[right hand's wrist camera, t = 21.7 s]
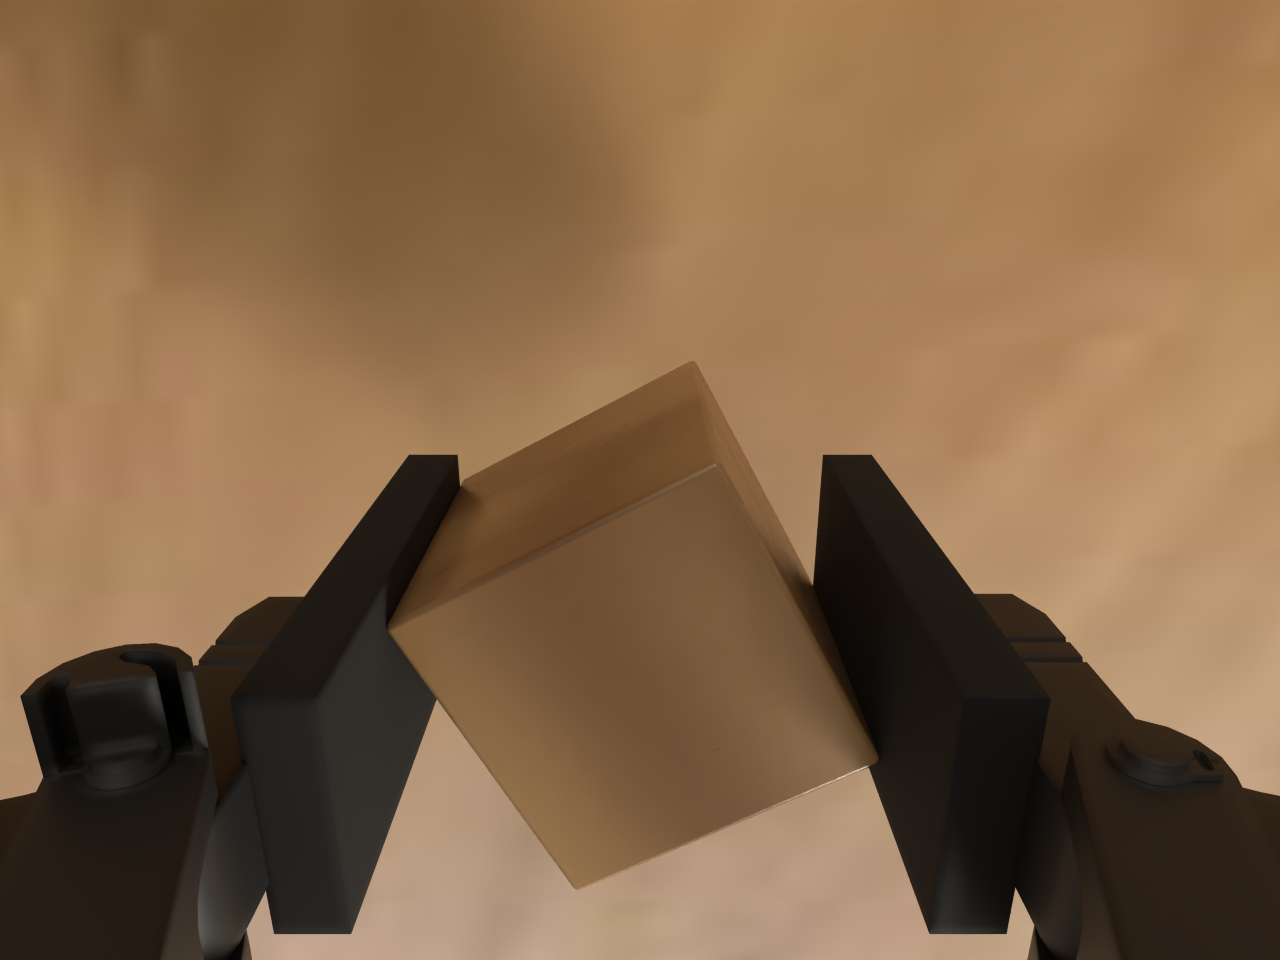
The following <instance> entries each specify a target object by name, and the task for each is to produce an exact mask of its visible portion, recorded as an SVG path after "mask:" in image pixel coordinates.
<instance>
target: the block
mask: <svg viewBox="0 0 1280 960" xmlns="http://www.w3.org/2000/svg"><path fill="white" fill-rule="evenodd" d="M387 629H388V632H389V634H390V635H391V637H392V638H393V639H394V641H395V642H396V643H397V645H398V646H399V648H400V649H401V650H402V652H403V653H404V654H405V656H406V657H407V659H408V660H409V661H410V663H411V664H412V666H413V667H414V668H415V670H416V671H417V672H418V674H419V675H420V677H421V678H422V679H423V681H424V682H425V683H426V685H427V686H428V688H429V689H430V690H431V692H432V693H433V694H434V696H435V697H436V699H437V700H438V701H439V703H440V704H441V706H442V707H443V708H444V710H445V711H446V712H447V714H448V715H449V717H450V718H451V719H452V721H453V722H454V723H455V725H456V726H457V728H458V729H459V730H460V732H461V733H462V734H463V736H464V737H465V739H466V740H467V741H468V743H469V744H470V745H471V747H472V748H473V750H474V751H475V752H476V754H477V755H478V757H479V758H480V759H481V761H482V762H483V763H484V765H485V766H486V768H487V769H488V770H489V772H490V773H491V774H492V776H493V777H494V779H495V780H496V781H497V783H498V784H499V785H500V787H501V788H502V790H503V791H504V792H505V794H506V795H507V797H508V798H509V799H510V801H511V802H512V803H513V805H514V806H515V808H516V809H517V810H518V812H519V813H520V814H521V816H522V817H523V819H524V820H525V821H526V823H527V824H528V825H529V827H530V828H531V830H532V831H533V832H534V834H535V835H536V836H537V838H538V839H539V841H540V842H541V843H542V845H543V846H544V848H545V849H546V850H547V852H548V853H549V854H550V856H551V857H552V859H553V860H554V861H555V863H556V864H557V865H558V867H559V868H560V870H561V871H562V872H563V874H564V875H565V876H566V878H567V879H568V881H569V882H570V883H571V885H572V886H573V888H575V889H576V890H581V889H583V888H585V887H588V886H590V885H592V884H595V883H597V882H599V881H602V880H604V879H607V878H609V877H611V876H614V875H616V874H618V873H621V872H623V871H625V870H628V869H630V868H632V867H635V866H637V865H640V864H642V863H644V862H647V861H649V860H651V859H654V858H656V857H658V856H661V855H663V854H665V853H668V852H670V851H673V850H675V849H677V848H680V847H682V846H684V845H687V844H689V843H691V842H694V841H696V840H698V839H701V838H703V837H706V836H708V835H710V834H713V833H715V832H717V831H720V830H722V829H724V828H727V827H729V826H731V825H734V824H736V823H739V822H741V821H743V820H746V819H748V818H750V817H753V816H755V815H757V814H760V813H762V812H764V811H767V810H769V809H772V808H774V807H776V806H779V805H781V804H783V803H786V802H788V801H790V800H793V799H795V798H797V797H800V796H802V795H805V794H807V793H809V792H812V791H814V790H816V789H819V788H821V787H823V786H826V785H828V784H830V783H833V782H835V781H838V780H840V779H842V778H845V777H847V776H849V775H852V774H854V773H856V772H859V771H861V770H863V769H866V768H868V767H871V766H873V765H875V764H877V763H878V762H879V754H878V751H877V749H876V746H875V744H874V741H873V739H872V736H871V734H870V731H869V728H868V726H867V723H866V721H865V718H864V716H863V713H862V710H861V708H860V705H859V703H858V700H857V698H856V695H855V693H854V690H853V687H852V685H851V682H850V680H849V677H848V675H847V672H846V670H845V667H844V664H843V662H842V659H841V657H840V654H839V652H838V649H837V646H836V644H835V641H834V639H833V636H832V634H831V631H830V629H829V626H828V623H827V621H826V618H825V616H824V613H823V611H822V608H821V605H820V603H819V600H818V598H817V595H816V593H815V590H814V588H813V585H812V582H811V580H810V578H809V576H808V574H807V572H806V571H805V569H804V567H803V565H802V563H801V561H800V559H799V557H798V555H797V553H796V552H795V550H794V548H793V546H792V544H791V542H790V540H789V538H788V536H787V535H786V533H785V531H784V529H783V527H782V525H781V523H780V521H779V519H778V517H777V516H776V514H775V512H774V510H773V508H772V506H771V504H770V502H769V500H768V498H767V497H766V495H765V493H764V491H763V489H762V487H761V485H760V483H759V481H758V479H757V478H756V476H755V474H754V472H753V470H752V468H751V466H750V464H749V462H748V460H747V459H746V457H745V455H744V453H743V451H742V449H741V447H740V445H739V443H738V441H737V440H736V438H735V436H734V434H733V432H732V430H731V428H730V426H729V424H728V422H727V421H726V419H725V417H724V415H723V413H722V411H721V409H720V407H719V405H718V403H717V402H716V400H715V398H714V396H713V394H712V392H711V390H710V388H709V386H708V384H707V383H706V381H705V379H704V377H703V375H702V373H701V371H700V369H699V367H698V365H697V364H696V363H695V362H694V361H692V362H688V363H686V364H684V365H682V366H680V367H678V368H677V369H675V370H673V371H671V372H669V373H667V374H665V375H663V376H661V377H659V378H657V379H656V380H654V381H652V382H650V383H648V384H646V385H644V386H642V387H640V388H638V389H636V390H635V391H633V392H631V393H629V394H627V395H625V396H623V397H621V398H619V399H617V400H616V401H614V402H612V403H610V404H608V405H606V406H604V407H602V408H600V409H598V410H596V411H595V412H593V413H591V414H589V415H587V416H585V417H583V418H581V419H579V420H577V421H575V422H574V423H572V424H570V425H568V426H566V427H564V428H562V429H560V430H558V431H556V432H554V433H553V434H551V435H549V436H547V437H545V438H543V439H541V440H539V441H537V442H535V443H533V444H532V445H530V446H528V447H526V448H524V449H522V450H520V451H518V452H516V453H514V454H512V455H511V456H509V457H507V458H505V459H503V460H501V461H499V462H497V463H495V464H493V465H491V466H490V467H488V468H486V469H484V470H482V471H480V472H478V473H476V474H474V475H472V476H471V477H469V478H467V479H465V480H464V481H463V482H462V484H461V486H460V488H459V489H458V491H457V493H456V495H455V497H454V499H453V501H452V503H451V505H450V507H449V509H448V510H447V512H446V514H445V516H444V518H443V520H442V522H441V524H440V526H439V528H438V529H437V531H436V533H435V535H434V537H433V539H432V541H431V543H430V545H429V547H428V548H427V550H426V552H425V554H424V556H423V558H422V560H421V562H420V564H419V566H418V567H417V569H416V571H415V573H414V575H413V577H412V579H411V581H410V583H409V585H408V586H407V588H406V590H405V592H404V594H403V596H402V598H401V600H400V602H399V604H398V606H397V607H396V609H395V611H394V613H393V615H392V617H391V619H390V621H389V623H388V625H387Z"/></svg>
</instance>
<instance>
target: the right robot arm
mask: <svg viewBox="0 0 1280 960" xmlns="http://www.w3.org/2000/svg"><path fill="white" fill-rule="evenodd" d="M459 488H460V480H459V467H458V455H409V456H408V457H407V458H406V460H405V461H404V462H403V464H402V465H401V466H400V468H399V469H398V471H397V472H396V473H395V475H394V476H393V477H392V479H391V480H390V481H389V483H388V484H387V485H386V487H385V488H384V490H383V491H382V492H381V494H380V495H379V496H378V498H377V499H376V500H375V502H374V503H373V504H372V506H371V507H370V509H369V510H368V511H367V513H366V514H365V515H364V517H363V518H362V519H361V521H360V522H359V523H358V525H357V526H356V528H355V529H354V530H353V532H352V533H351V534H350V536H349V537H348V538H347V540H346V541H345V543H344V544H343V545H342V547H341V548H340V549H339V551H338V552H337V553H336V555H335V556H334V557H333V559H332V560H331V562H330V563H329V564H328V566H327V567H326V568H325V570H324V571H323V572H322V574H321V575H320V576H319V578H318V579H317V581H316V582H315V583H314V585H313V586H312V587H311V589H310V590H309V591H308V593H307V594H306V595H305V597H268V598H266V599H265V600H263V601H262V602H260V603H258V604H257V605H255V606H253V607H252V608H250V609H248V610H247V611H245V612H243V613H242V614H240V615H238V616H237V617H235V618H234V620H233V621H232V622H231V623H230V624H229V626H228V627H227V628H226V629H225V630H224V631H223V633H222V634H221V635H220V636H219V637H218V638H217V640H216V644H215V645H212V646H211V647H210V648H209V649H208V650H207V651H206V653H205V654H204V655H203V656H202V657H201V658H200V660H199V665H195V666H194V667H193V662H192V658H191V657H190V656H189V655H188V654H186V653H185V652H184V651H182V650H181V649H179V648H178V647H172V646H167V645H162V644H157V643H150V644H129V645H122V646H117V647H113V648H108V649H104V650H99V651H94V652H92V653H89V654H86V655H84V656H81V657H78V658H76V659H73V660H70V661H68V662H65V663H63V664H61V665H59V666H58V667H56V668H54V669H53V670H51V671H49V672H48V673H46V674H44V675H43V676H41V677H39V678H37V679H36V680H35V681H34V682H33V683H32V684H31V685H30V687H29V688H28V689H27V690H26V691H25V692H24V693H23V694H22V695H21V696H20V697H21V700H22V704H23V707H24V711H25V714H26V718H27V721H28V725H29V728H30V732H31V735H32V739H33V742H34V746H35V749H36V753H37V756H38V760H39V763H40V767H41V770H42V774H43V779H42V781H41V783H40V785H39V787H38V789H37V791H36V792H35V793H31V794H27V795H23V796H18V797H13V798H8V799H3V800H0V960H252V957H251V950H250V945H249V940H248V935H247V930H246V929H247V927H248V925H249V923H250V921H251V919H252V917H253V915H254V913H255V911H256V909H257V907H258V905H259V903H260V901H261V899H262V897H263V895H264V893H265V891H266V893H267V899H268V904H269V909H270V915H271V920H272V925H273V930H274V934H351V933H352V930H353V927H354V925H355V922H356V919H357V916H358V914H359V911H360V908H361V905H362V903H363V900H364V897H365V894H366V892H367V889H368V886H369V883H370V881H371V878H372V875H373V872H374V870H375V867H376V864H377V861H378V859H379V856H380V853H381V850H382V848H383V845H384V842H385V840H386V837H387V834H388V831H389V829H390V826H391V823H392V820H393V818H394V815H395V812H396V809H397V807H398V804H399V801H400V798H401V796H402V793H403V790H404V787H405V785H406V782H407V779H408V776H409V774H410V771H411V768H412V765H413V763H414V760H415V757H416V754H417V752H418V749H419V746H420V743H421V741H422V738H423V735H424V732H425V730H426V727H427V724H428V721H429V719H430V716H431V713H432V710H433V708H434V705H435V702H436V697H435V696H434V694H433V693H432V692H431V690H430V689H429V688H428V686H427V685H426V683H425V682H424V681H423V679H422V678H421V677H420V675H419V674H418V672H417V671H416V670H415V668H414V667H413V666H412V664H411V663H410V661H409V660H408V659H407V657H406V656H405V654H404V653H403V652H402V650H401V649H400V648H399V646H398V645H397V643H396V642H395V641H394V639H393V638H392V637H391V635H390V634H389V632H388V629H387V625H388V623H389V621H390V619H391V617H392V615H393V613H394V611H395V609H396V607H397V606H398V604H399V602H400V600H401V598H402V596H403V594H404V592H405V590H406V588H407V586H408V585H409V583H410V581H411V579H412V577H413V575H414V573H415V571H416V569H417V567H418V566H419V564H420V562H421V560H422V558H423V556H424V554H425V552H426V550H427V548H428V547H429V545H430V543H431V541H432V539H433V537H434V535H435V533H436V531H437V529H438V528H439V526H440V524H441V522H442V520H443V518H444V516H445V514H446V512H447V510H448V509H449V507H450V505H451V503H452V501H453V499H454V497H455V495H456V493H457V491H458V489H459ZM813 588H814V590H815V593H816V595H817V598H818V600H819V603H820V605H821V608H822V611H823V613H824V616H825V618H826V621H827V623H828V626H829V629H830V631H831V634H832V636H833V639H834V641H835V644H836V646H837V649H838V652H839V654H840V657H841V659H842V662H843V664H844V667H845V670H846V672H847V675H848V677H849V680H850V682H851V685H852V687H853V690H854V693H855V695H856V698H857V700H858V703H859V705H860V708H861V710H862V713H863V716H864V718H865V721H866V723H867V726H868V728H869V731H870V734H871V736H872V739H873V741H874V744H875V746H876V749H877V751H878V754H879V762H878V763H877V764H875V765H873V766H871V767H869V769H870V772H871V775H872V777H873V780H874V783H875V786H876V788H877V791H878V794H879V797H880V799H881V802H882V805H883V808H884V810H885V813H886V816H887V819H888V821H889V824H890V827H891V830H892V832H893V835H894V838H895V841H896V843H897V846H898V849H899V851H900V854H901V857H902V860H903V862H904V865H905V868H906V871H907V873H908V876H909V879H910V882H911V884H912V887H913V890H914V893H915V895H916V898H917V901H918V904H919V906H920V909H921V912H922V915H923V917H924V920H925V923H926V926H927V928H928V931H929V934H1007V929H1008V923H1009V918H1010V913H1011V908H1012V902H1013V897H1014V892H1015V887H1016V889H1017V891H1018V893H1019V895H1020V897H1021V899H1022V901H1023V903H1024V905H1025V907H1026V909H1027V911H1028V913H1029V915H1030V917H1031V919H1032V921H1033V923H1034V930H1033V935H1032V940H1031V945H1030V949H1029V954H1028V959H1027V960H1280V796H1277V795H1272V794H1267V793H1262V792H1258V791H1254V790H1250V789H1246V788H1242V786H1241V784H1240V782H1239V779H1238V777H1237V776H1236V774H1235V773H1234V772H1233V771H1232V769H1231V768H1230V767H1229V766H1228V764H1227V763H1226V762H1225V761H1224V759H1223V758H1222V757H1221V756H1219V755H1218V754H1216V753H1215V752H1214V751H1212V750H1211V749H1209V748H1208V747H1206V746H1205V745H1204V744H1202V743H1201V742H1199V741H1198V740H1196V739H1194V738H1191V737H1189V736H1187V735H1185V734H1182V733H1180V732H1178V731H1176V730H1173V729H1171V728H1169V727H1166V726H1162V725H1158V724H1154V723H1150V722H1146V721H1142V720H1138V719H1135V718H1134V717H1133V716H1132V714H1131V713H1130V712H1129V711H1128V710H1127V709H1126V707H1125V706H1124V705H1123V704H1122V703H1121V702H1120V700H1119V699H1118V698H1117V697H1116V696H1115V695H1114V693H1113V692H1112V691H1111V690H1110V689H1109V688H1108V686H1107V685H1106V684H1105V683H1104V682H1103V681H1102V679H1101V678H1100V677H1099V676H1098V675H1097V674H1096V672H1095V671H1094V670H1093V669H1092V668H1091V667H1090V665H1089V664H1088V663H1087V662H1083V660H1082V656H1081V655H1080V654H1079V653H1078V651H1077V650H1076V649H1075V648H1074V647H1073V646H1072V644H1071V643H1070V642H1066V637H1065V636H1064V635H1063V634H1062V633H1061V632H1060V630H1059V629H1058V628H1057V627H1056V626H1055V625H1054V623H1053V622H1052V621H1051V620H1050V619H1049V618H1048V616H1047V615H1046V614H1045V613H1043V612H1041V611H1040V610H1038V609H1036V608H1035V607H1033V606H1031V605H1030V604H1028V603H1026V602H1025V601H1023V600H1021V599H1020V598H1018V597H1016V596H1015V595H1013V594H974V593H973V592H972V590H971V589H970V588H969V586H968V585H967V584H966V582H965V581H964V580H963V578H962V577H961V576H960V574H959V573H958V571H957V570H956V569H955V567H954V566H953V565H952V563H951V562H950V561H949V559H948V558H947V557H946V555H945V554H944V552H943V551H942V550H941V548H940V547H939V546H938V544H937V543H936V542H935V540H934V539H933V538H932V536H931V535H930V533H929V532H928V531H927V529H926V528H925V527H924V525H923V524H922V523H921V521H920V520H919V519H918V517H917V516H916V514H915V513H914V512H913V510H912V509H911V508H910V506H909V505H908V504H907V502H906V501H905V500H904V498H903V497H902V495H901V494H900V493H899V491H898V490H897V489H896V487H895V486H894V485H893V483H892V482H891V480H890V479H889V478H888V476H887V475H886V474H885V472H884V471H883V470H882V468H881V467H880V466H879V464H878V463H877V461H876V460H875V459H874V457H873V456H872V455H823V462H822V476H821V489H820V502H819V515H818V528H817V542H816V555H815V568H814V581H813Z"/></svg>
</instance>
